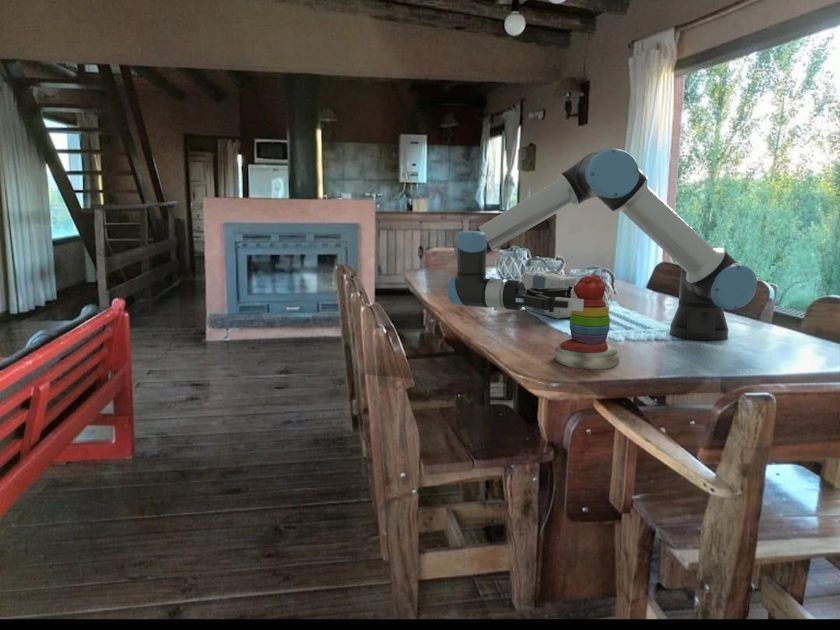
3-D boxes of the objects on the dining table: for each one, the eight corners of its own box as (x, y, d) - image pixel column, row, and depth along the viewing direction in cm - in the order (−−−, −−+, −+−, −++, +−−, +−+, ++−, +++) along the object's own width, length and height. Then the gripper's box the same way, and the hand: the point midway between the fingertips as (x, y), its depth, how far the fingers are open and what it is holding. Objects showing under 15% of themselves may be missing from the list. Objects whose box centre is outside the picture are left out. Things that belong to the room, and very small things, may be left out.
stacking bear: (581, 341, 163) (584, 271, 159) (617, 348, 155) (621, 275, 152) (556, 348, 155) (559, 275, 152) (593, 356, 148) (596, 279, 145)
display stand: (619, 355, 160) (620, 343, 160) (617, 371, 146) (618, 358, 146) (558, 351, 165) (559, 339, 164) (551, 366, 151) (551, 353, 151)
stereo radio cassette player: (520, 309, 223) (521, 252, 219) (540, 307, 226) (541, 251, 222) (556, 320, 204) (558, 257, 200) (577, 318, 207) (579, 256, 203)
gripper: (522, 301, 174) (601, 307, 164) (487, 317, 152) (575, 326, 142) (523, 274, 172) (603, 278, 162) (487, 286, 151) (577, 292, 141)
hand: (590, 300), depth 152 cm, fingers open, 13 cm apart
